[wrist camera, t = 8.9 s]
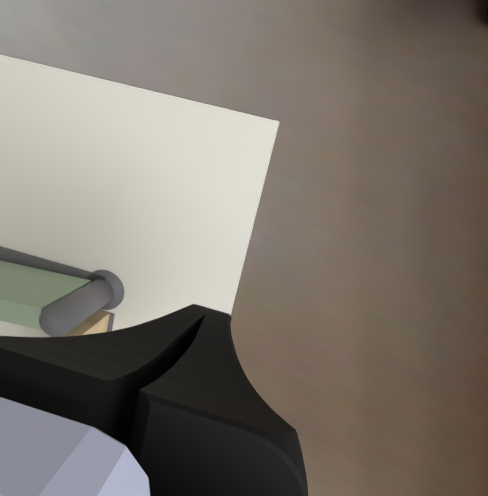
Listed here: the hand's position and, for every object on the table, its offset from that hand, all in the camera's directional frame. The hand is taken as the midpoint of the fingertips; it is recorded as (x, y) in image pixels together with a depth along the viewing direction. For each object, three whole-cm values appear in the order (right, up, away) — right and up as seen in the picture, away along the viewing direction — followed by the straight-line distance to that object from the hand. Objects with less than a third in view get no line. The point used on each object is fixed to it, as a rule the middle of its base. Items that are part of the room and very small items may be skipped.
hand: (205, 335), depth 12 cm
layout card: (-9, +2, +11) cm, 14 cm away
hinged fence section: (-13, +1, +10) cm, 17 cm away
